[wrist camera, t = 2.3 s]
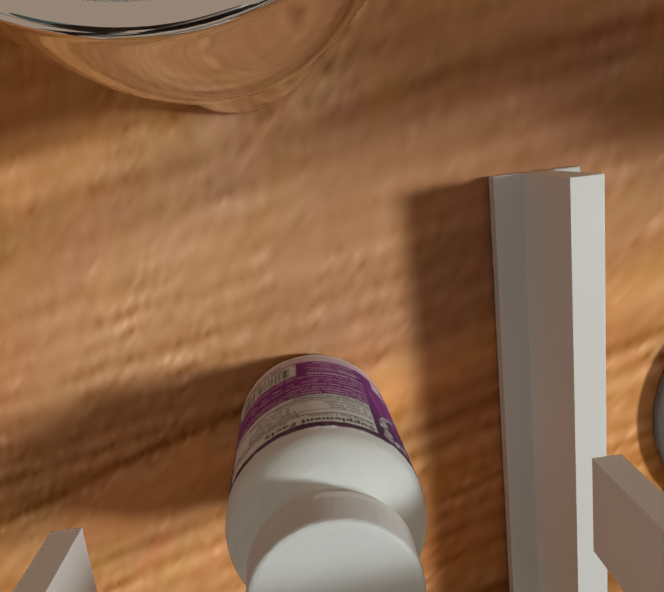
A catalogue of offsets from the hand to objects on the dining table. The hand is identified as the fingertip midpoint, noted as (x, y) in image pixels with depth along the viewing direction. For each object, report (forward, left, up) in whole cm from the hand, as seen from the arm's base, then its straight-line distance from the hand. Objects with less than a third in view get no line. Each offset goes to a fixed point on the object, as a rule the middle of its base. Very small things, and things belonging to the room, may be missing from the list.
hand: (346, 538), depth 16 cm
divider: (+8, -1, -7) cm, 11 cm away
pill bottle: (0, 0, -7) cm, 7 cm away
